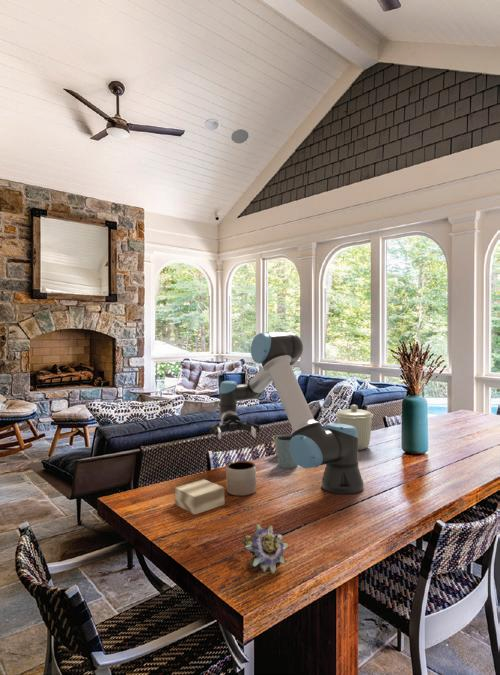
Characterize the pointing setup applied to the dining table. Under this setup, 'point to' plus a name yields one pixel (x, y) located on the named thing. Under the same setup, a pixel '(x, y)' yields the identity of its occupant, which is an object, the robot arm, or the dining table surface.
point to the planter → (241, 478)
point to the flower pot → (276, 443)
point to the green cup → (285, 452)
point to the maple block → (199, 496)
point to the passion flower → (265, 548)
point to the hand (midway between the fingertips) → (237, 434)
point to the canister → (357, 423)
